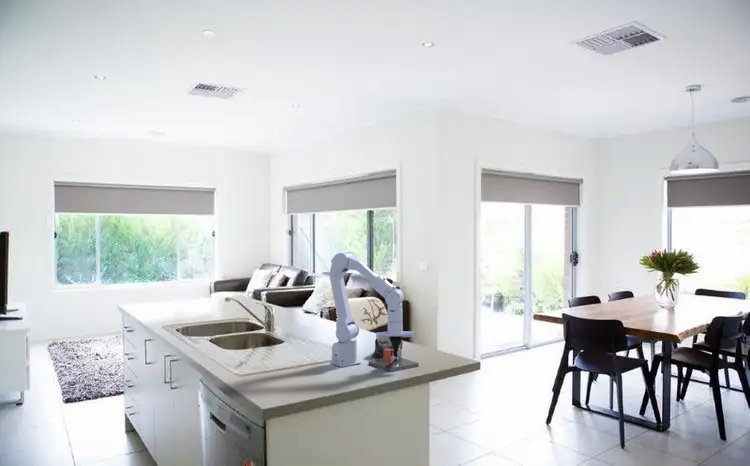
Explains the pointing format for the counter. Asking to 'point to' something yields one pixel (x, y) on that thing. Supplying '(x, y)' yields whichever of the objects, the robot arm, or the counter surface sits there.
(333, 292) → the robot arm
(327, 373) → the counter surface
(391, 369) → the base
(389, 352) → the lever
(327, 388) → the counter surface
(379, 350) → the stone
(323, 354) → the counter surface
